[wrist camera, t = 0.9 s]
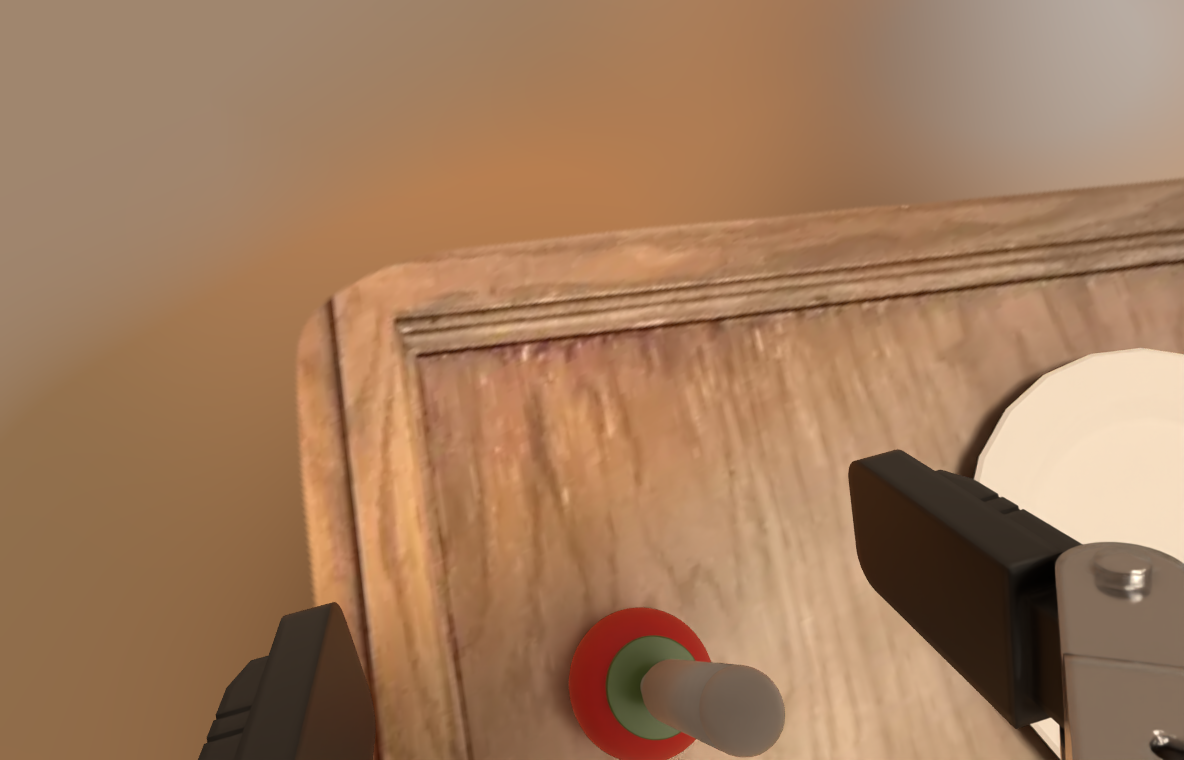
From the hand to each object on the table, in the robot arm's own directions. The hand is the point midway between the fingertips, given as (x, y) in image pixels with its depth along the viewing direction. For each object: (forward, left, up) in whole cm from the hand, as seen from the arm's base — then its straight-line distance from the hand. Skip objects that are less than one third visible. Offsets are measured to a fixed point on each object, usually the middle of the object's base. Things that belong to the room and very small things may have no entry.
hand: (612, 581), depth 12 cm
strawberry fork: (+4, +1, -21) cm, 21 cm away
